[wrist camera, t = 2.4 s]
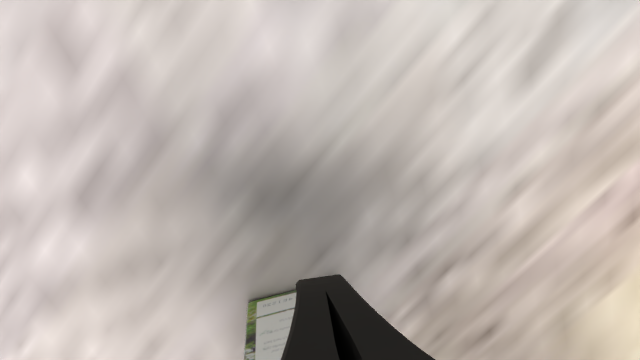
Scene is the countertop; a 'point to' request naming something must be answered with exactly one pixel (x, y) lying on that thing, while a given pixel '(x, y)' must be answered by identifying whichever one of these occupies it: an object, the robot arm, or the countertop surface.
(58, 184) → the countertop surface
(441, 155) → the countertop surface
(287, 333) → the syrup box
